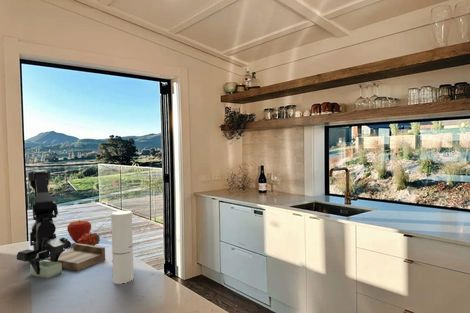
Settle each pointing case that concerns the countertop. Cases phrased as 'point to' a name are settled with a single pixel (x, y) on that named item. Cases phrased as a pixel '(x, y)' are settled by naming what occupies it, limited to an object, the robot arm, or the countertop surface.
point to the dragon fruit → (89, 239)
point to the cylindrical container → (122, 246)
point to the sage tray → (47, 269)
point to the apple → (78, 229)
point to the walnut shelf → (81, 256)
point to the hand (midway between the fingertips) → (46, 271)
